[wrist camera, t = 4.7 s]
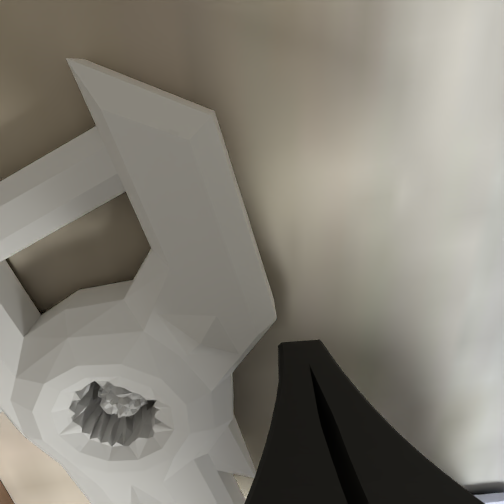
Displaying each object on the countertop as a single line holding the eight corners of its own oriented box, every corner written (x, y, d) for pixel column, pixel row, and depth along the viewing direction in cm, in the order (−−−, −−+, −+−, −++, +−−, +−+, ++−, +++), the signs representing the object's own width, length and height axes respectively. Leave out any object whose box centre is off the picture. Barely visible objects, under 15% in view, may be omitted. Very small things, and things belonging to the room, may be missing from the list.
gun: (348, 553, 15) (104, 602, 15) (329, 467, 18) (126, 512, 19) (172, 10, 7) (-297, 171, 8) (192, 28, 10) (-144, 141, 11)
